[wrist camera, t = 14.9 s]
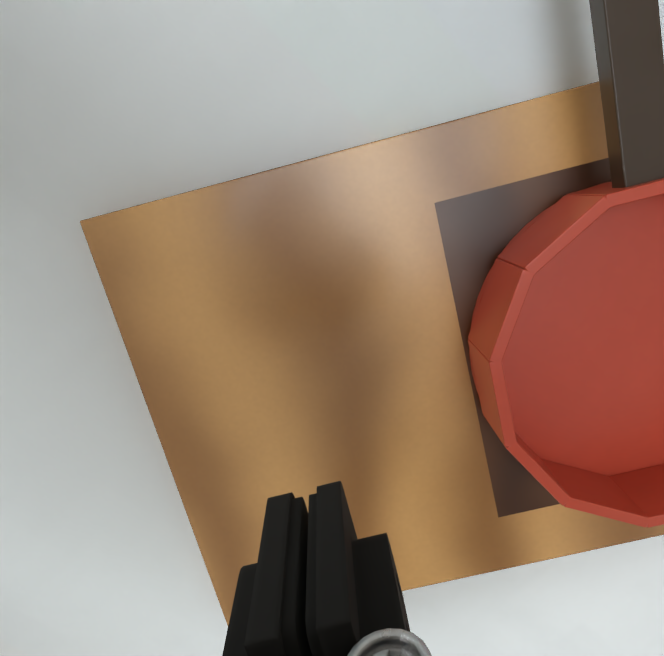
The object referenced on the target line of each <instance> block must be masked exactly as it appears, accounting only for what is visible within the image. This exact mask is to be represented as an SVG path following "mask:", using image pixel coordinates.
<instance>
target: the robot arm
mask: <svg viewBox="0 0 664 656" xmlns="http://www.w3.org/2000/svg"><path fill="white" fill-rule="evenodd" d="M222 656H431V653H430V651H429V649H428V648H427V646H426V645H425V643H424V642H423V640H422V639H420V638H419V637H418V636H416V635H415V634H414V633H411V632H410V628H409V623H408V618H407V614H406V609H405V604H404V599H403V595H402V590H401V586H400V582H399V577H398V573H397V569H396V565H395V561H394V557H393V554H392V550H391V546H390V542H389V539H388V535H387V533H383V534H378V535H374V536H370V537H366V538H361V539H357V535H356V532H355V528H354V524H353V521H352V517H351V514H350V510H349V506H348V503H347V499H346V496H345V492H344V489H343V485H342V483H341V481H337V482H333V483H329V484H324V485H320V486H317V493H315V494H311V495H309V507H308V511H307V507H306V504H305V501H304V499H303V497H298V498H295V496H294V494H293V493H292V492H291V493H287V494H282V495H278V496H274V497H270V498H268V499H267V504H266V511H265V517H264V523H263V529H262V536H261V542H260V548H259V555H258V561H257V563H254V564H250V565H246V566H243V567H242V568H241V569H240V572H239V576H238V581H237V586H236V591H235V596H234V601H233V606H232V611H231V616H230V621H229V626H228V631H227V636H226V641H225V646H224V651H223V655H222Z"/></svg>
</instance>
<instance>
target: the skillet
mask: <svg viewBox="0 0 664 656" xmlns="http://www.w3.org/2000/svg"><path fill="white" fill-rule="evenodd" d="M589 2H590V10H591V18H592V26H593V34H594V43H595V51H596V59H597V67H598V75H599V84H600V92H601V100H602V108H603V117H604V125H605V133H606V141H607V149H608V158H609V166H610V174H611V182H606V183H602V184H599V185H596V186H592V187H589V188H586V189H583V190H580V191H576V192H572V193H569V194H566V195H565V196H563V197H562V198H561V199H560V200H559V201H558V202H557V203H555V204H554V205H552V206H550V207H549V208H547V209H546V210H544V211H543V212H541V213H540V214H539V215H538V216H536V217H535V218H534V219H533V220H531V221H530V222H529V223H528V224H527V225H525V226H524V227H523V228H522V229H521V230H520V231H519V233H518V234H517V235H516V236H515V237H514V238H513V239H512V240H511V241H510V242H509V243H508V245H507V246H506V247H505V249H504V250H503V251H502V252H501V254H499V255H498V258H496V260H495V262H494V264H493V266H492V268H491V269H490V271H489V273H488V275H487V276H486V278H485V281H484V283H483V285H482V288H481V290H480V292H479V295H478V298H477V301H476V305H475V308H474V312H473V315H472V322H471V329H470V333H469V336H468V338H469V339H468V344H469V355H470V363H471V371H472V376H473V379H474V383H475V386H476V390H477V392H478V395H479V399H480V404H481V409H482V413H483V415H484V417H485V418H486V420H487V421H488V423H489V424H490V426H491V427H492V429H493V430H494V431H495V433H496V434H497V436H498V437H499V439H500V440H501V442H502V443H503V445H504V446H505V448H506V449H507V450H508V451H509V452H510V453H511V454H512V455H513V456H514V457H515V458H516V459H517V460H518V461H519V462H520V463H521V464H522V465H523V466H524V467H525V468H526V469H527V470H528V471H529V472H530V473H531V475H532V476H533V477H534V478H535V479H536V480H537V481H538V482H539V483H540V484H541V485H542V486H543V487H544V488H545V489H546V490H547V491H548V492H549V493H550V494H551V495H552V496H553V497H554V498H555V499H556V500H557V501H558V502H559V503H560V504H561V505H562V506H564V507H567V508H571V509H575V510H578V511H582V512H586V513H590V514H594V515H598V516H602V517H606V518H610V519H614V520H617V521H621V522H625V523H629V524H633V525H637V526H641V527H645V528H646V527H648V528H650V527H654V526H659V525H663V524H664V59H663V48H662V37H661V27H660V16H659V5H658V0H589Z"/></svg>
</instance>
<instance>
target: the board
mask: <svg viewBox="0 0 664 656" xmlns="http://www.w3.org/2000/svg"><path fill="white" fill-rule="evenodd" d="M606 182H611V174H610V166H609V158H608V149H607V141H606V133H605V125H604V117H603V108H602V100H601V92H600V84H599V81H598V82H594V83H591V84H587V85H583V86H579V87H576V88H572V89H568V90H565V91H561V92H557V93H553V94H550V95H546V96H542V97H539V98H535V99H531V100H527V101H524V102H520V103H516V104H513V105H509V106H505V107H501V108H498V109H494V110H490V111H487V112H483V113H479V114H475V115H472V116H468V117H464V118H461V119H457V120H453V121H449V122H446V123H442V124H438V125H435V126H431V127H427V128H423V129H420V130H416V131H412V132H408V133H405V134H401V135H397V136H394V137H390V138H386V139H382V140H379V141H375V142H371V143H368V144H364V145H360V146H356V147H353V148H349V149H345V150H342V151H338V152H334V153H330V154H327V155H323V156H319V157H316V158H312V159H308V160H304V161H301V162H297V163H293V164H290V165H286V166H282V167H278V168H275V169H271V170H267V171H264V172H260V173H256V174H252V175H249V176H245V177H241V178H238V179H234V180H230V181H226V182H223V183H219V184H215V185H212V186H208V187H204V188H200V189H197V190H193V191H189V192H186V193H182V194H178V195H174V196H171V197H167V198H163V199H160V200H156V201H152V202H148V203H145V204H141V205H137V206H134V207H130V208H126V209H122V210H119V211H115V212H111V213H107V214H104V215H100V216H96V217H93V218H89V219H85V220H81V221H80V223H81V226H82V229H83V232H84V234H85V237H86V240H87V243H88V245H89V248H90V251H91V254H92V256H93V259H94V262H95V264H96V267H97V270H98V273H99V275H100V278H101V281H102V284H103V286H104V289H105V292H106V294H107V297H108V300H109V303H110V305H111V308H112V311H113V314H114V316H115V319H116V322H117V324H118V327H119V330H120V333H121V335H122V338H123V341H124V344H125V346H126V349H127V352H128V354H129V357H130V360H131V363H132V365H133V368H134V371H135V374H136V376H137V379H138V382H139V385H140V387H141V390H142V393H143V395H144V398H145V401H146V404H147V406H148V409H149V412H150V415H151V417H152V420H153V423H154V425H155V428H156V431H157V434H158V436H159V439H160V442H161V445H162V447H163V450H164V453H165V455H166V458H167V461H168V464H169V466H170V469H171V472H172V475H173V477H174V480H175V483H176V485H177V488H178V491H179V494H180V496H181V499H182V502H183V505H184V507H185V510H186V513H187V515H188V518H189V521H190V524H191V526H192V529H193V532H194V535H195V537H196V540H197V543H198V546H199V548H200V551H201V554H202V556H203V559H204V562H205V565H206V567H207V570H208V573H209V576H210V578H211V581H212V584H213V586H214V589H215V592H216V595H217V597H218V600H219V603H220V606H221V608H222V611H223V614H224V616H225V619H226V622H227V625H228V626H229V621H230V616H231V611H232V606H233V601H234V596H235V591H236V586H237V581H238V576H239V572H240V569H241V568H242V567H243V566H246V565H250V564H254V563H257V561H258V555H259V548H260V542H261V536H262V529H263V523H264V517H265V511H266V504H267V499H268V498H270V497H274V496H278V495H282V494H287V493H291V492H292V493H293V494H294V496H295V498H298V497H303V499H304V501H305V504H306V507H307V511H308V507H309V495H311V494H315V493H317V486H320V485H324V484H329V483H333V482H337V481H341V483H342V485H343V489H344V492H345V496H346V499H347V503H348V506H349V510H350V514H351V517H352V521H353V524H354V528H355V532H356V535H357V539H361V538H366V537H370V536H374V535H378V534H383V533H387V535H388V539H389V542H390V546H391V550H392V554H393V557H394V561H395V565H396V569H397V573H398V577H399V582H400V586H401V590H402V591H404V590H409V589H414V588H418V587H423V586H427V585H432V584H437V583H441V582H446V581H451V580H455V579H460V578H465V577H469V576H474V575H478V574H483V573H488V572H492V571H497V570H502V569H506V568H511V567H516V566H520V565H525V564H529V563H534V562H539V561H543V560H548V559H553V558H557V557H562V556H567V555H571V554H576V553H580V552H585V551H590V550H594V549H599V548H604V547H608V546H613V545H618V544H622V543H627V542H631V541H636V540H641V539H645V538H650V537H655V536H659V535H664V524H663V525H659V526H654V527H650V528H648V527H646V528H645V527H641V526H637V525H633V524H629V523H625V522H621V521H617V520H614V519H610V518H606V517H602V516H598V515H594V514H590V513H586V512H582V511H578V510H575V509H571V508H567V507H564V506H562V505H561V504H560V503H559V502H558V501H557V500H556V499H555V498H554V497H553V496H552V495H551V494H550V493H549V492H548V491H547V490H546V489H545V488H544V487H543V486H542V485H541V484H540V483H539V482H538V481H537V480H536V479H535V478H534V477H533V476H532V475H531V473H530V472H529V471H528V470H527V469H526V468H525V467H524V466H523V465H522V464H521V463H520V462H519V461H518V460H517V459H516V458H515V457H514V456H513V455H512V454H511V453H510V452H509V451H508V450H507V449H506V448H505V446H504V445H503V443H502V442H501V440H500V439H499V437H498V436H497V434H496V433H495V431H494V430H493V429H492V427H491V426H490V424H489V423H488V421H487V420H486V418H485V417H484V415H483V413H482V409H481V404H480V399H479V395H478V392H477V390H476V386H475V383H474V379H473V376H472V371H471V363H470V355H469V344H468V339H469V338H468V336H469V333H470V329H471V322H472V315H473V312H474V308H475V305H476V301H477V298H478V295H479V292H480V290H481V288H482V285H483V283H484V281H485V278H486V276H487V275H488V273H489V271H490V269H491V268H492V266H493V264H494V262H495V260H496V258H498V255H499V254H501V252H502V251H503V250H504V249H505V247H506V246H507V245H508V243H509V242H510V241H511V240H512V239H513V238H514V237H515V236H516V235H517V234H518V233H519V231H520V230H521V229H522V228H523V227H524V226H525V225H527V224H528V223H529V222H530V221H531V220H533V219H534V218H535V217H536V216H538V215H539V214H540V213H541V212H543V211H544V210H546V209H547V208H549V207H550V206H552V205H554V204H555V203H557V202H558V201H559V200H560V199H561V198H562V197H563V196H565V195H566V194H569V193H572V192H576V191H580V190H583V189H586V188H589V187H592V186H596V185H599V184H602V183H606Z"/></svg>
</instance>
